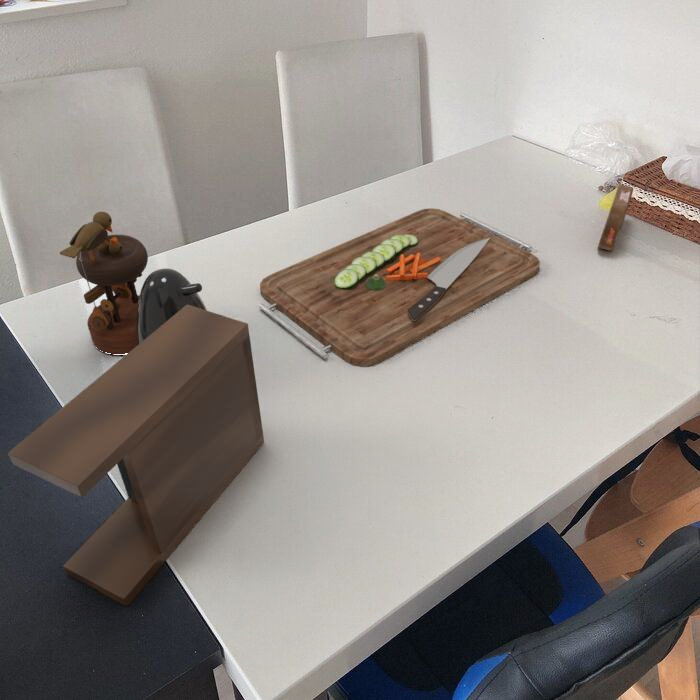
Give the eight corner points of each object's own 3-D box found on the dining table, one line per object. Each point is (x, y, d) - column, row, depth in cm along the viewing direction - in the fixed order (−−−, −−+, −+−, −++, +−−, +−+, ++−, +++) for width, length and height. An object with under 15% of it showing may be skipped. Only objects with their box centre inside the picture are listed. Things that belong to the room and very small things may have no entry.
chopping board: (441, 207, 129) (442, 192, 127) (556, 263, 113) (560, 247, 111) (240, 294, 107) (237, 278, 105) (348, 380, 91) (347, 362, 89)
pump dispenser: (197, 397, 89) (177, 302, 79) (130, 380, 92) (102, 286, 82) (234, 351, 96) (219, 258, 87) (171, 336, 99) (149, 245, 90)
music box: (150, 366, 94) (103, 238, 81) (77, 365, 96) (20, 240, 83) (186, 303, 106) (150, 183, 93) (121, 303, 107) (76, 185, 95)
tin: (607, 217, 125) (618, 174, 120) (625, 221, 124) (637, 177, 118) (594, 257, 114) (605, 211, 109) (613, 261, 113) (625, 215, 108)
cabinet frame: (66, 574, 69) (7, 452, 57) (210, 421, 85) (187, 304, 74) (127, 607, 66) (77, 486, 54) (264, 442, 82) (248, 323, 71)
